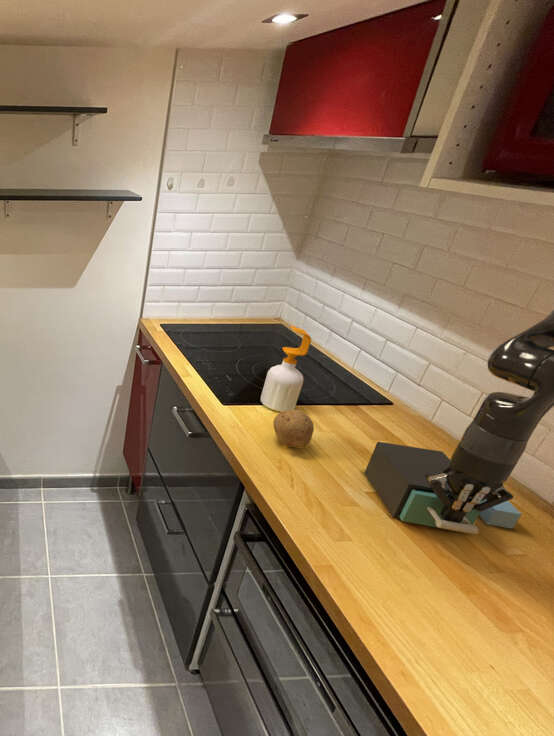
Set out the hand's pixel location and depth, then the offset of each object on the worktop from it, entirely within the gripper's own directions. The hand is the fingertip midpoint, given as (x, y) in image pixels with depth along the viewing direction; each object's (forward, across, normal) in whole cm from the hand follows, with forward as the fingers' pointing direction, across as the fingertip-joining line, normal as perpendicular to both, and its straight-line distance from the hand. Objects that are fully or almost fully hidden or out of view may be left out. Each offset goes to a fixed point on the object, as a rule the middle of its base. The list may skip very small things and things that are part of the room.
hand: (448, 520), depth 86 cm
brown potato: (+5, +21, -25) cm, 33 cm away
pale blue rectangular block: (+5, -14, -9) cm, 17 cm away
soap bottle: (+5, +19, -45) cm, 49 cm away
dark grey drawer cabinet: (+5, 0, -11) cm, 12 cm away
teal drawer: (+4, 0, -6) cm, 7 cm away
